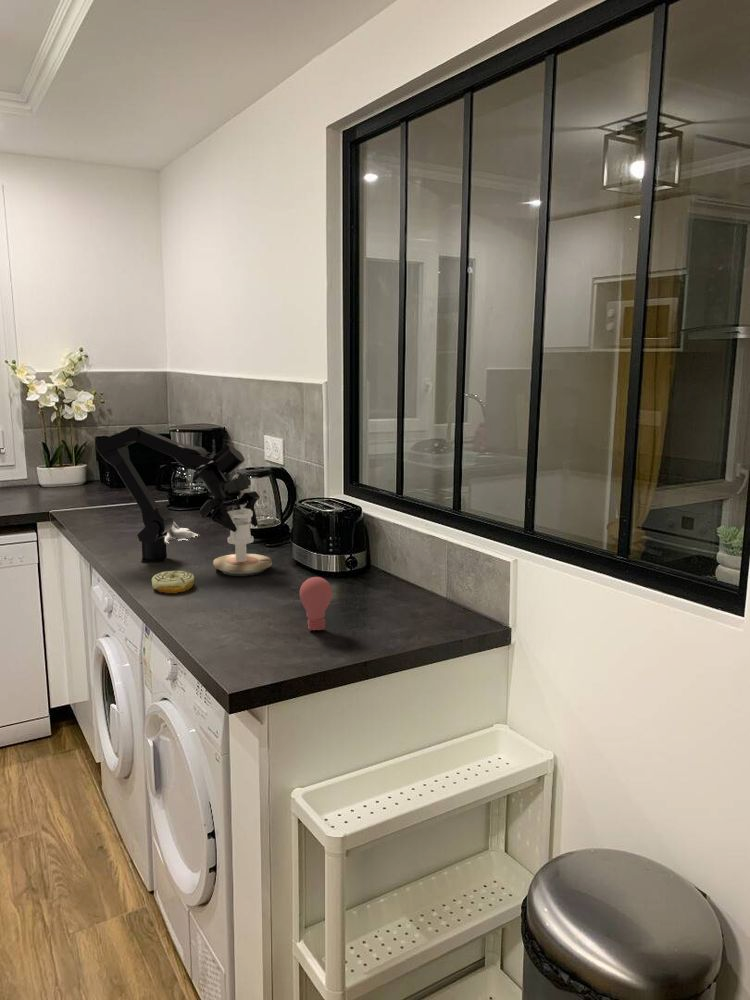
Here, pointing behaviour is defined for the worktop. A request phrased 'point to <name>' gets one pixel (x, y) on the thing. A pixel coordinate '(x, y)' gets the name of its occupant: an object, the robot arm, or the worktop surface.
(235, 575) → the turntable base
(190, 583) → the decorated donut
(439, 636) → the worktop surface
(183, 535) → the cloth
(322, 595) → the light bulb
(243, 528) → the strainer
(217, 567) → the turntable
